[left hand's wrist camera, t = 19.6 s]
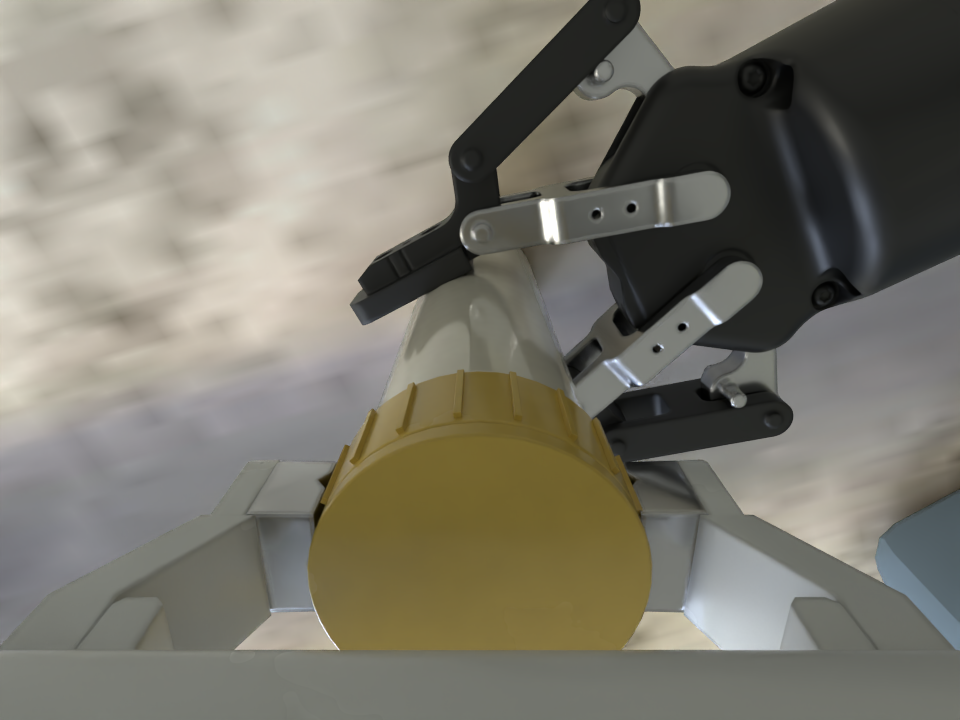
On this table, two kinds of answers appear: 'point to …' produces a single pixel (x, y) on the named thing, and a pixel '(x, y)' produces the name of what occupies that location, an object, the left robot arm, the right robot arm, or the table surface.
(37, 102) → the table surface
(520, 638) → the lid
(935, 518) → the alarm clock
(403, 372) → the jar
